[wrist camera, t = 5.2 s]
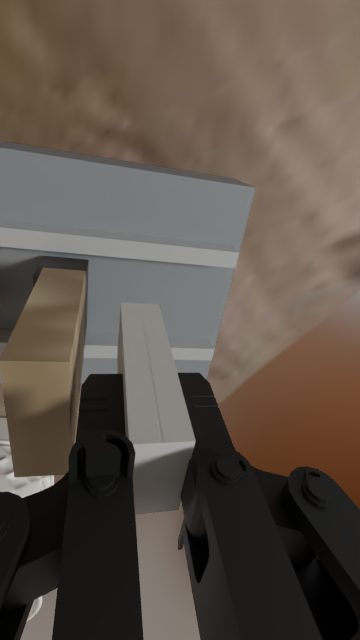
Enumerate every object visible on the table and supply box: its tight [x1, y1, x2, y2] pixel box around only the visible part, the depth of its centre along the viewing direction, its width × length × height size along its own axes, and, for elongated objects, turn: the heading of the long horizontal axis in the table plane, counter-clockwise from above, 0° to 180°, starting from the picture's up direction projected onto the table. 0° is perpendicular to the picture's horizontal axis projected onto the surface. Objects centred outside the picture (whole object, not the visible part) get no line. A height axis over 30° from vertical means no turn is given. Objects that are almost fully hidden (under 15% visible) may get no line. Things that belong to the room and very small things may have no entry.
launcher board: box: [0, 141, 255, 384], centre depth 16 cm, size 20×12×4 cm, turn 80°
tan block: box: [0, 256, 89, 478], centre depth 12 cm, size 2×4×8 cm, turn 170°
